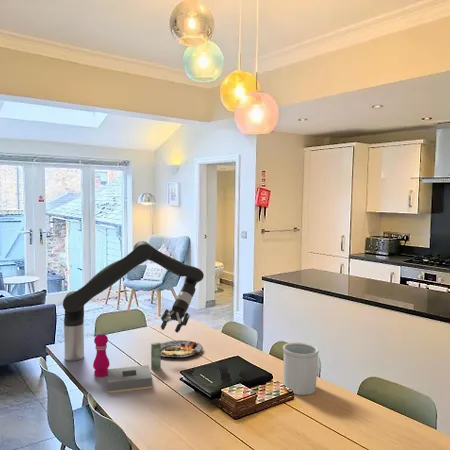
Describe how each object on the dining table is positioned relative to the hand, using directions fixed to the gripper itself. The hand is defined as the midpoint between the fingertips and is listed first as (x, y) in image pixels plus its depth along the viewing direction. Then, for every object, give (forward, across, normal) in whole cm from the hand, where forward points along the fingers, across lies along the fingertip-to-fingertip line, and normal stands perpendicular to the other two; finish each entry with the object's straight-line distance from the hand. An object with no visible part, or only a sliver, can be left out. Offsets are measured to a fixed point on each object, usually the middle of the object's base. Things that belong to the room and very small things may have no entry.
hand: (169, 330), depth 206 cm
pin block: (+31, 0, -9) cm, 33 cm away
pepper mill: (+31, -18, -9) cm, 36 cm away
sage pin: (+18, 0, +4) cm, 19 cm away
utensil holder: (+8, +66, +14) cm, 68 cm away
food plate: (+2, -3, +20) cm, 21 cm away
